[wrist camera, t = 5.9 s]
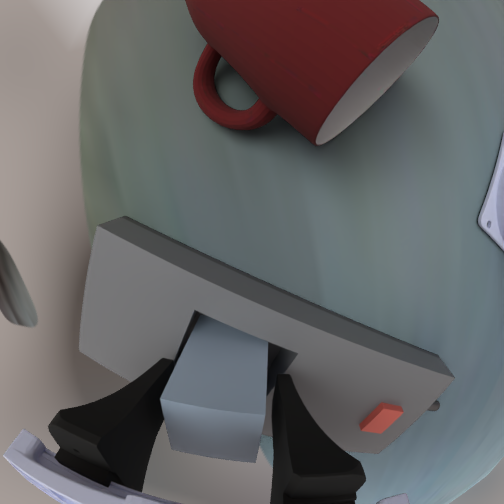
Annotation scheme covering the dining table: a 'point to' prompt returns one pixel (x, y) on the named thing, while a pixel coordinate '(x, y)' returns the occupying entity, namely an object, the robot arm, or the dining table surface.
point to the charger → (217, 393)
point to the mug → (307, 57)
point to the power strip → (254, 323)
